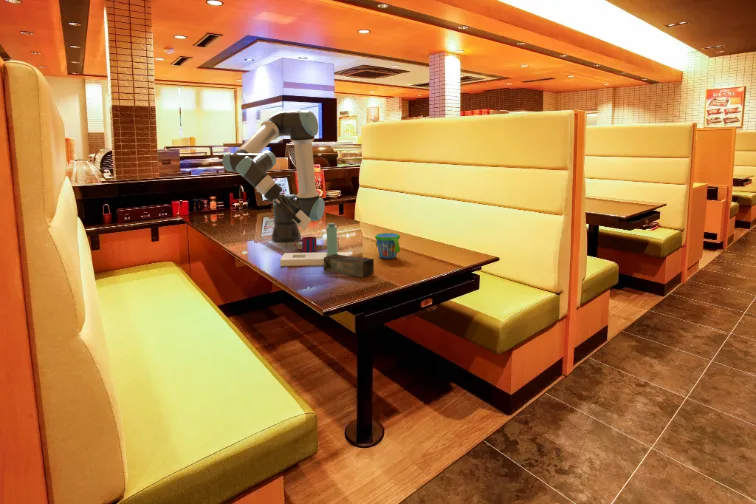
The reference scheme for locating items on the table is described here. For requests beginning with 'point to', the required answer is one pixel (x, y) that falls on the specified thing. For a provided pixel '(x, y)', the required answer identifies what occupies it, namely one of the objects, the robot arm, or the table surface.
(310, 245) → the cup
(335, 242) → the plug
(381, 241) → the sippy cup
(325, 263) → the beverage carton
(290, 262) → the socket panel
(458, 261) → the table surface
